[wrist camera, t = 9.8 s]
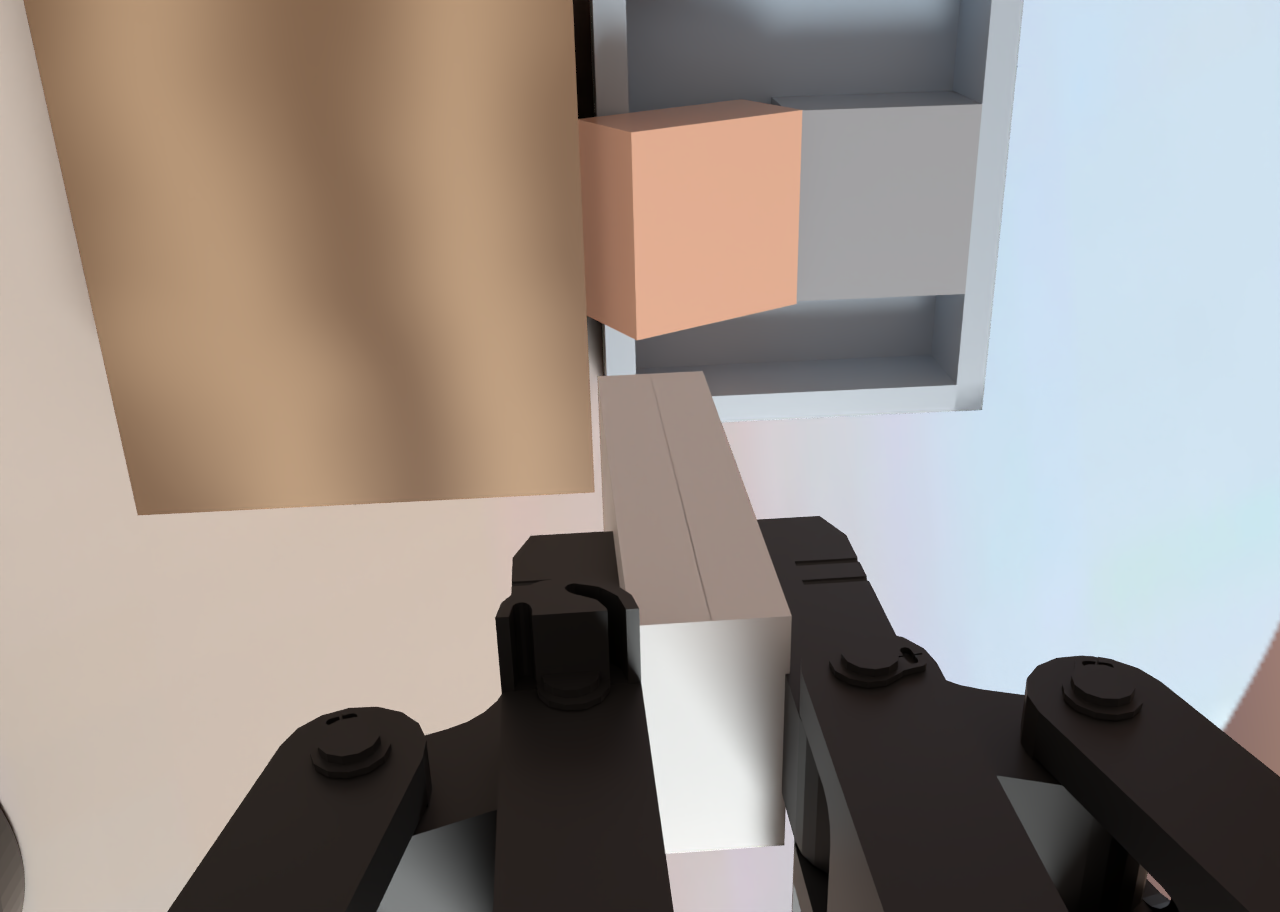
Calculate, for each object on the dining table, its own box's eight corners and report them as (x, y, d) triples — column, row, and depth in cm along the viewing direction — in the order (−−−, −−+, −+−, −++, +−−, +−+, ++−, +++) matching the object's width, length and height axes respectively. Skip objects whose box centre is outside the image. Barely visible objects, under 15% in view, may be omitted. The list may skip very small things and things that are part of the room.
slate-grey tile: (965, 293, 33) (938, 268, 35) (982, 103, 31) (952, 90, 33) (782, 302, 32) (767, 275, 35) (787, 111, 30) (771, 97, 33)
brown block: (190, 439, 36) (137, 515, 32) (90, -70, 30) (9, -66, 26) (589, 419, 37) (594, 492, 32) (566, -83, 31) (569, -81, 26)
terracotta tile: (586, 315, 31) (637, 340, 30) (577, 119, 29) (630, 132, 27) (740, 282, 34) (796, 304, 32) (742, 99, 32) (802, 109, 30)
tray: (604, 388, 36) (608, 427, 34) (588, -41, 31) (591, -36, 29) (950, 372, 37) (981, 409, 34) (988, -52, 32) (1028, -48, 29)
